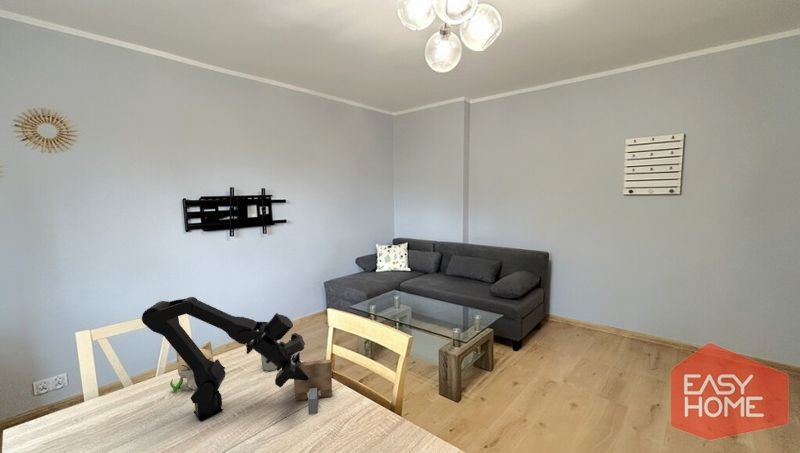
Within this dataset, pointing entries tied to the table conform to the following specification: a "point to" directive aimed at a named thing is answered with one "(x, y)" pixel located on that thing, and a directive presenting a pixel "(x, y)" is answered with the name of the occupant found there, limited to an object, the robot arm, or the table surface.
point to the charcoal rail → (313, 400)
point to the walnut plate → (314, 379)
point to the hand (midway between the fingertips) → (308, 377)
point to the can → (269, 365)
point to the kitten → (186, 372)
